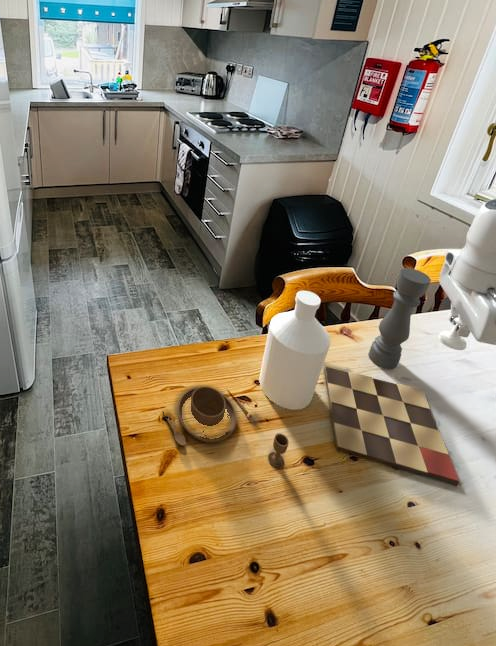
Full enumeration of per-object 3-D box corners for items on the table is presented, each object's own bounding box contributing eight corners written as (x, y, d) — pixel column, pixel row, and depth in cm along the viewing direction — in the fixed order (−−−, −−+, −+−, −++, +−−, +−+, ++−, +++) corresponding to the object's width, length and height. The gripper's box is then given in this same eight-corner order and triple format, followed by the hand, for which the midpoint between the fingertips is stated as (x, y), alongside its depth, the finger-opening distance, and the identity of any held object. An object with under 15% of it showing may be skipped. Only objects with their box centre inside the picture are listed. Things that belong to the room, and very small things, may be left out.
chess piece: (440, 330, 89) (455, 294, 84) (467, 341, 85) (484, 305, 81) (435, 341, 85) (451, 304, 81) (463, 354, 82) (481, 316, 78)
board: (420, 393, 88) (422, 389, 87) (457, 486, 71) (460, 481, 70) (323, 370, 93) (325, 365, 93) (336, 450, 76) (337, 446, 75)
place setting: (223, 380, 90) (227, 361, 87) (289, 463, 73) (295, 442, 71) (155, 408, 83) (157, 388, 80) (211, 507, 66) (215, 486, 64)
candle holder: (391, 374, 93) (427, 288, 83) (364, 358, 97) (394, 274, 87) (400, 360, 97) (435, 276, 86) (373, 345, 101) (404, 264, 91)
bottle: (281, 418, 82) (307, 324, 71) (247, 373, 92) (265, 286, 81) (325, 400, 86) (355, 310, 75) (287, 359, 96) (309, 275, 85)
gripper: (531, 312, 68) (500, 370, 74) (476, 251, 86) (455, 302, 92) (487, 304, 70) (460, 362, 76) (443, 246, 88) (424, 296, 94)
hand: (457, 328), depth 84 cm, fingers closed on chess piece
